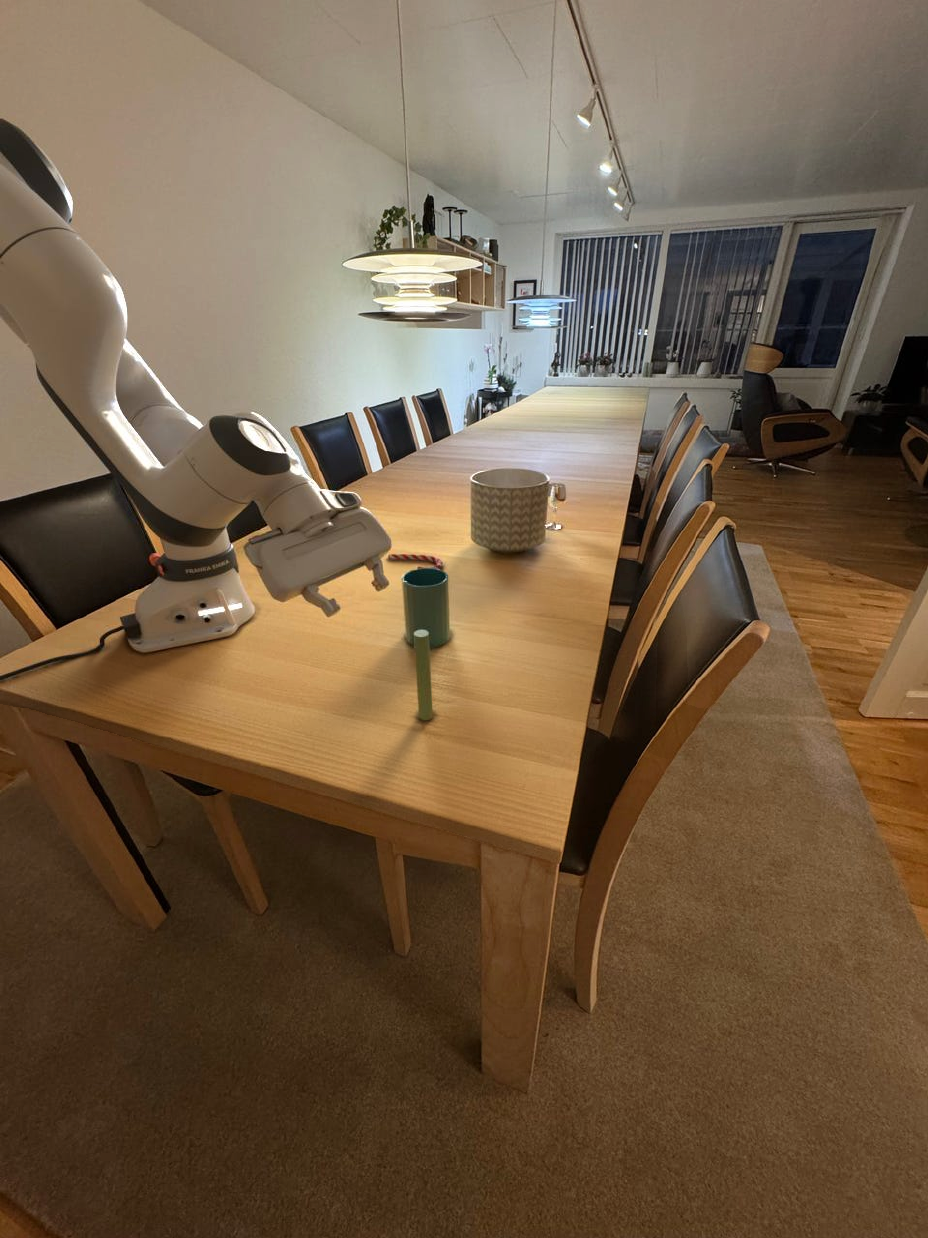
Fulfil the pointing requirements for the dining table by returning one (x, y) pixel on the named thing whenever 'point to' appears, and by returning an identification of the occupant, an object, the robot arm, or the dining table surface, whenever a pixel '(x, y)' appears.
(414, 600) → the tin can
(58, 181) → the robot arm
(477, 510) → the planter
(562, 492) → the wineglass
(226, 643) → the dining table surface
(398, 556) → the candy cane
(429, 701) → the straw
